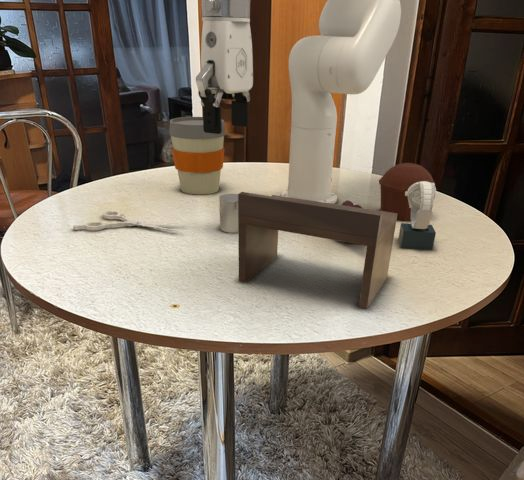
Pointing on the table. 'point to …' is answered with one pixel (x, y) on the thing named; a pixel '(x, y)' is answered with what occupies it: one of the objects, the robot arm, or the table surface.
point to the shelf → (313, 233)
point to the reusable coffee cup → (197, 155)
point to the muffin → (400, 188)
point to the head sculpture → (419, 217)
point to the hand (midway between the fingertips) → (226, 129)
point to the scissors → (119, 223)
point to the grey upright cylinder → (229, 213)
